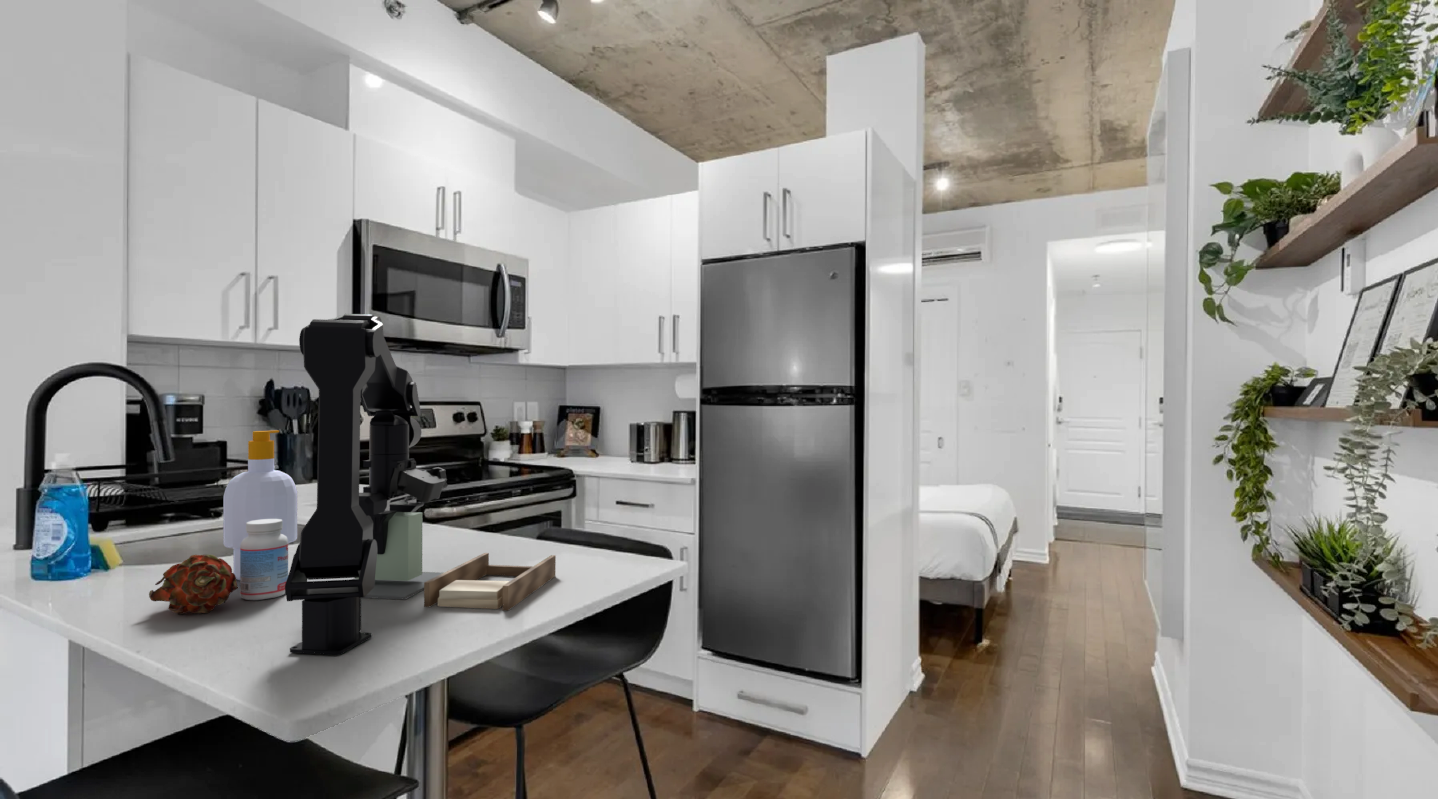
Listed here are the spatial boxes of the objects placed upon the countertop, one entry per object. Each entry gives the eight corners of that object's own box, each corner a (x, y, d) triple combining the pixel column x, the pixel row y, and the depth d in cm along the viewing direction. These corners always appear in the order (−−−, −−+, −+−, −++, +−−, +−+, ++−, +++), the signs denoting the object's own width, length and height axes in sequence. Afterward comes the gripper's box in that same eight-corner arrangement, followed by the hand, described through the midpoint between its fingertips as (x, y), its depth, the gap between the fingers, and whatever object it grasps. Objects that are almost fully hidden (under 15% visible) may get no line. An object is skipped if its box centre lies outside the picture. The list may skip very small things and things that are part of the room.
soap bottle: (311, 570, 120) (311, 430, 120) (259, 586, 110) (259, 433, 110) (262, 566, 122) (262, 429, 122) (207, 582, 112) (207, 432, 112)
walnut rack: (508, 610, 99) (508, 585, 99) (424, 606, 100) (424, 582, 100) (555, 576, 117) (555, 555, 117) (484, 573, 119) (484, 552, 119)
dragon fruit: (219, 630, 94) (168, 630, 99) (267, 580, 101) (217, 583, 106) (173, 588, 90) (122, 591, 95) (226, 539, 97) (176, 544, 102)
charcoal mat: (405, 599, 104) (405, 596, 104) (318, 595, 105) (318, 592, 105) (452, 575, 118) (452, 572, 118) (374, 572, 119) (374, 569, 119)
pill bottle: (289, 597, 104) (289, 522, 104) (240, 603, 101) (240, 526, 101) (287, 587, 109) (287, 516, 109) (240, 593, 106) (240, 520, 106)
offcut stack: (496, 609, 99) (496, 592, 99) (436, 606, 100) (436, 590, 100) (514, 596, 105) (514, 581, 105) (458, 594, 106) (458, 578, 106)
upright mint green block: (408, 580, 109) (408, 516, 109) (354, 578, 110) (354, 515, 110) (422, 574, 113) (422, 512, 113) (370, 572, 114) (370, 511, 114)
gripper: (403, 459, 101) (403, 567, 101) (465, 449, 120) (464, 540, 120) (332, 458, 102) (331, 564, 102) (404, 448, 121) (403, 538, 121)
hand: (388, 551), depth 111 cm, fingers closed on upright mint green block, 4 cm apart
